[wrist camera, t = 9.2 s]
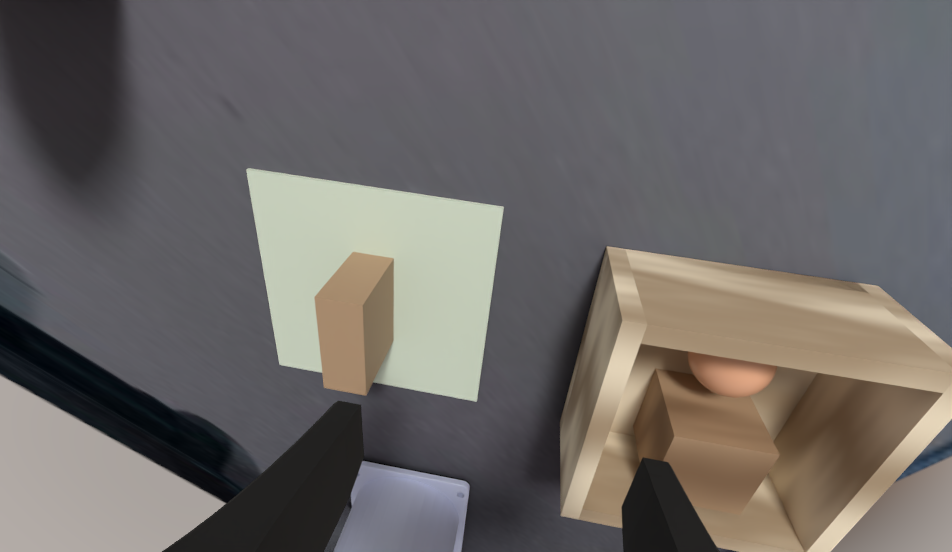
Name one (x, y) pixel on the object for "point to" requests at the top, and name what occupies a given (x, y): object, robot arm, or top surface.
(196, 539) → the robot arm
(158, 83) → the top surface
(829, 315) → the box
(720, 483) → the walnut block
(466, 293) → the lid
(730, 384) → the terracotta ball
